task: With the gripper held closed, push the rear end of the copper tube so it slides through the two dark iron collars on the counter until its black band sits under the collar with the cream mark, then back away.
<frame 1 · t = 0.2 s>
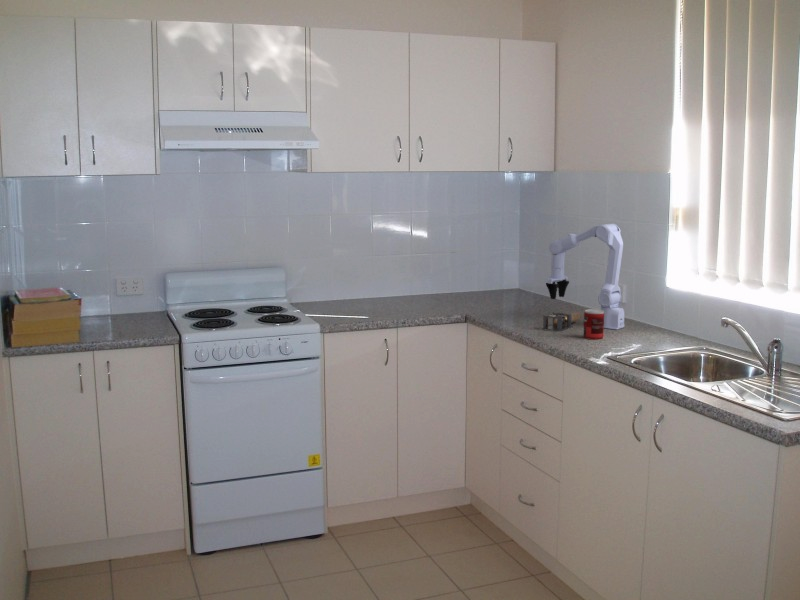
hand: (557, 297, 370), 10 cm above the worktop, tool pointing down, fingers open, 7 cm apart
firebox: (557, 328, 352), on the worktop
tube: (567, 319, 359), point 3 cm above the worktop, slide at 0.0 cm
canned food: (593, 338, 333), on the worktop
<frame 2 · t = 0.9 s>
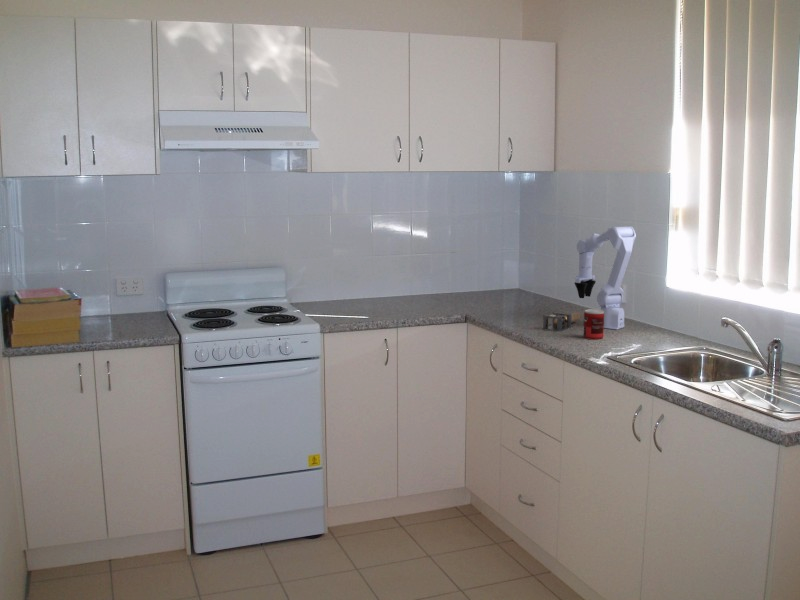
hand: (584, 297, 369), 10 cm above the worktop, tool pointing down, fingers open, 5 cm apart
nothing on the worktop moved.
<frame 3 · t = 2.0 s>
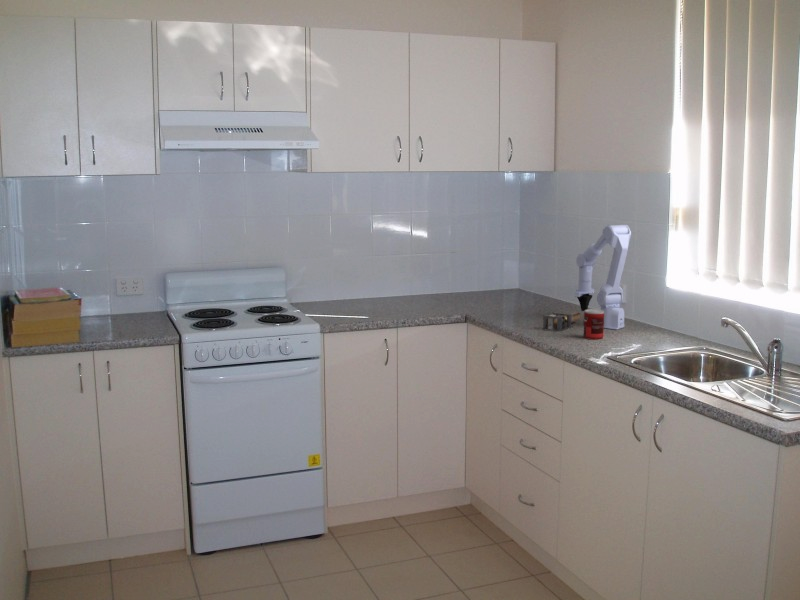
hand: (584, 310, 370), 4 cm above the worktop, tool pointing down, fingers closed
nothing on the worktop moved.
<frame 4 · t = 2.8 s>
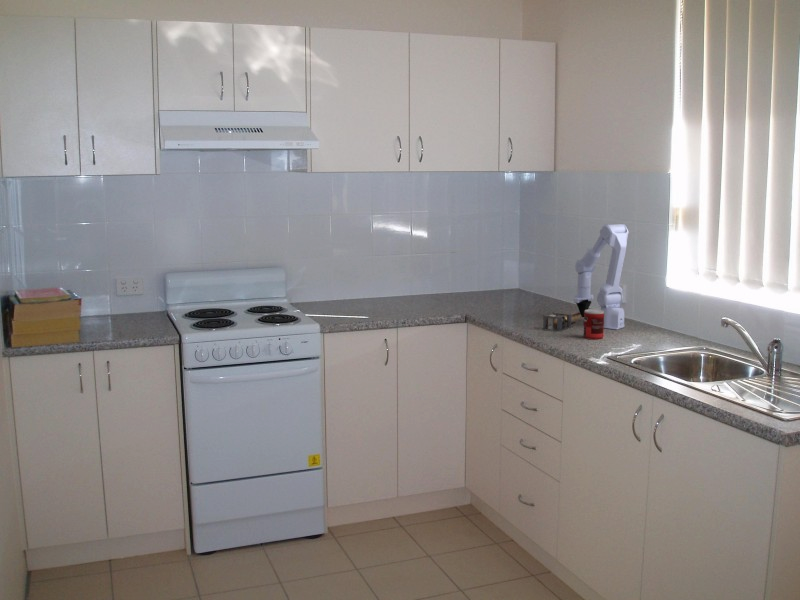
hand: (583, 316, 369), 2 cm above the worktop, tool pointing down, fingers closed
nothing on the worktop moved.
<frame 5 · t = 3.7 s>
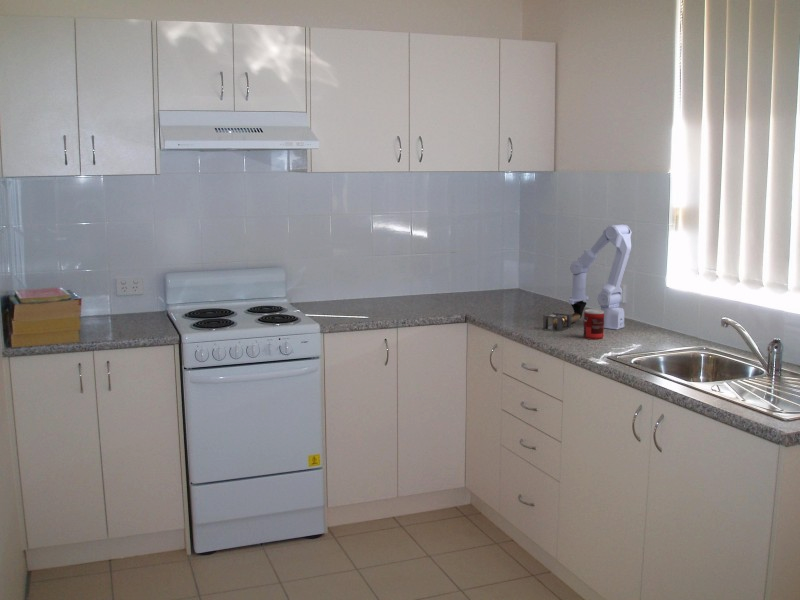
hand: (578, 318, 366), 2 cm above the worktop, tool pointing down, fingers closed
tube: (566, 319, 358), point 3 cm above the worktop, slide at 0.9 cm, touching gripper
everything else where it was.
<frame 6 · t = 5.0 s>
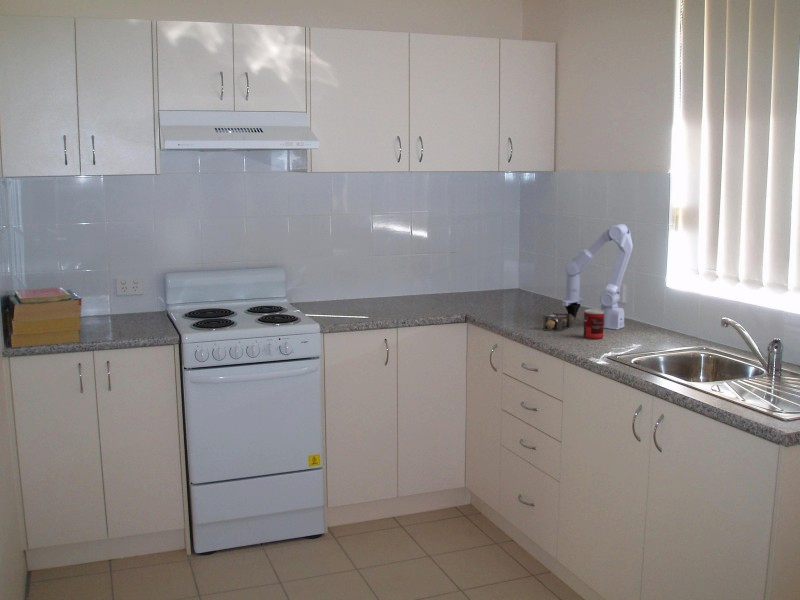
hand: (572, 320, 362), 2 cm above the worktop, tool pointing down, fingers closed
tube: (560, 321, 354), point 3 cm above the worktop, slide at 6.4 cm, touching gripper
everything else where it was.
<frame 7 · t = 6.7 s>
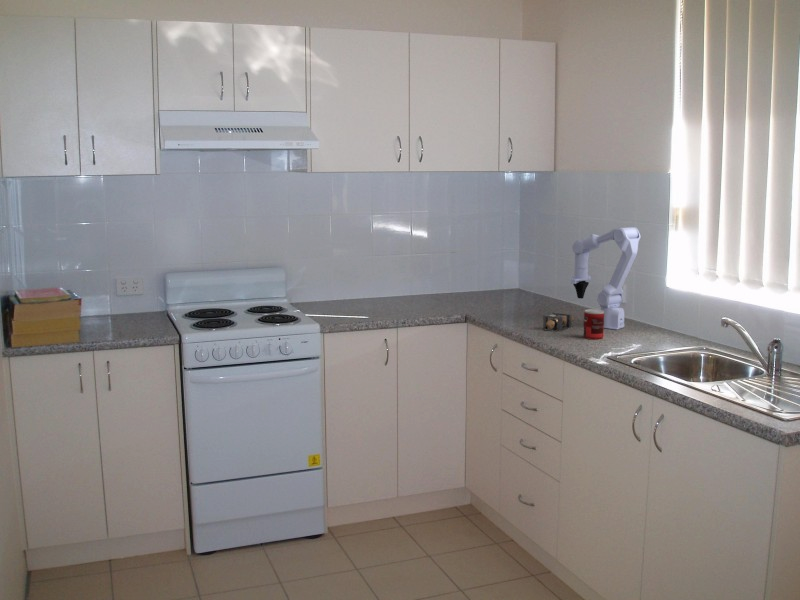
hand: (580, 298, 366), 10 cm above the worktop, tool pointing down, fingers closed
tube: (560, 321, 354), point 3 cm above the worktop, slide at 6.4 cm
everything else where it was.
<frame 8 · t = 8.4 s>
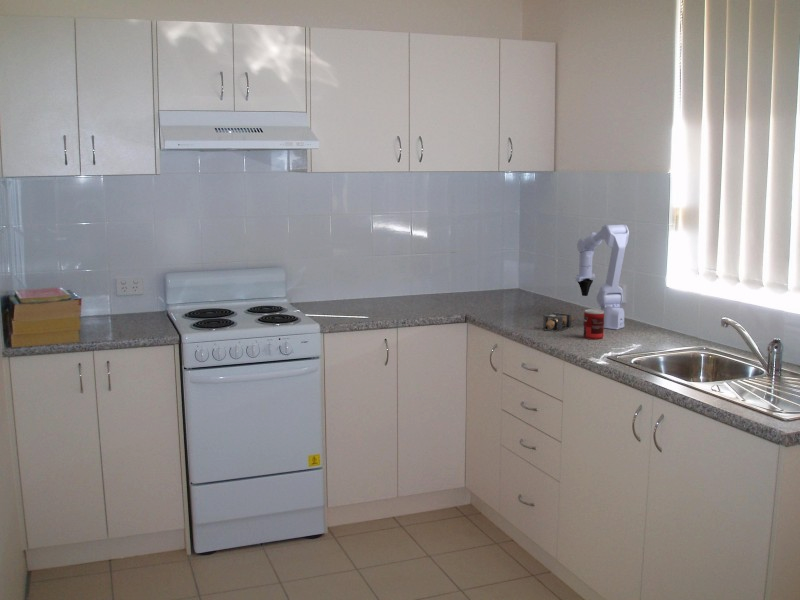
hand: (584, 295, 373), 10 cm above the worktop, tool pointing down, fingers closed
nothing on the worktop moved.
at the end: tube slide at 6.4 cm; tube touching nothing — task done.
